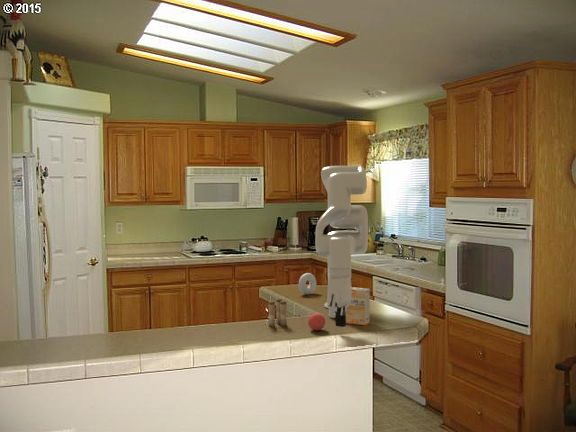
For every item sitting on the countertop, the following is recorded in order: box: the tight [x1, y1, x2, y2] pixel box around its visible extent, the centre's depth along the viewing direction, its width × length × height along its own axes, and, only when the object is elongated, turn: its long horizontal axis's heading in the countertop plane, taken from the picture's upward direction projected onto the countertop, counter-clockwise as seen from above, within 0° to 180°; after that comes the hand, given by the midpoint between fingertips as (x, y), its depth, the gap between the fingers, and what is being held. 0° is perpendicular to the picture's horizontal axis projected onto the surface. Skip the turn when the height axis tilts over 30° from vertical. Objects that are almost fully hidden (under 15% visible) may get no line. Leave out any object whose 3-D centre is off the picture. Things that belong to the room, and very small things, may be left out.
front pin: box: [280, 300, 288, 327], centre depth 218 cm, size 2×2×9 cm
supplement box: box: [345, 286, 371, 326], centre depth 219 cm, size 8×5×13 cm, turn 62°
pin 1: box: [268, 300, 276, 327], centre depth 218 cm, size 2×2×9 cm
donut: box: [298, 272, 317, 295], centre depth 275 cm, size 10×4×10 cm, turn 130°
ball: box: [307, 312, 326, 331], centre depth 210 cm, size 6×6×6 cm
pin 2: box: [275, 298, 283, 325], centre depth 222 cm, size 2×2×9 cm
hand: (340, 325), depth 205 cm, fingers closed
